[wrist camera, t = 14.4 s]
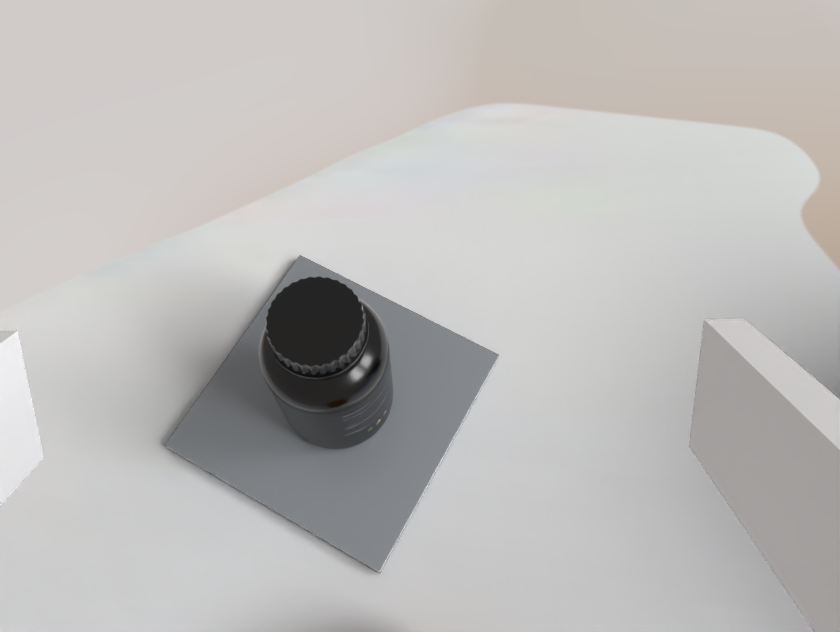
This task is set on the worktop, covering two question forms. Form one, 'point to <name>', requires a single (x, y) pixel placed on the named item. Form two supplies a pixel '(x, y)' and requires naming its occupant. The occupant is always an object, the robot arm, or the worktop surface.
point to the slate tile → (351, 467)
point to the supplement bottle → (327, 363)
